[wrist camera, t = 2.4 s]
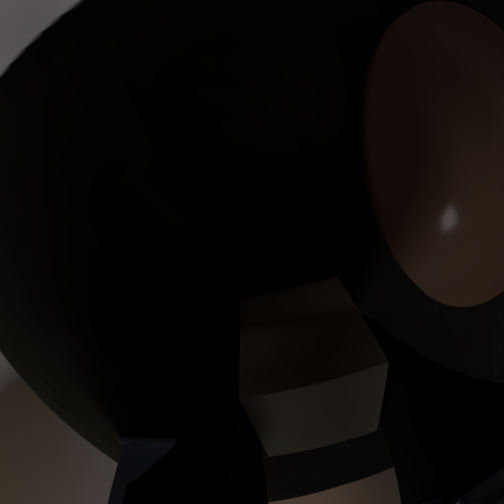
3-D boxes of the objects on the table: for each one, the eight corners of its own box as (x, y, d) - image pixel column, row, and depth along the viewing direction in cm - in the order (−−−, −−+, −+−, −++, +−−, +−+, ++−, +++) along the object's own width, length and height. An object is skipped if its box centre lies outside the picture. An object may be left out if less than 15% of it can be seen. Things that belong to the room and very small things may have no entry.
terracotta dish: (371, 331, 12) (380, 347, 11) (310, -9, 6) (317, -23, 5) (536, 257, 11) (547, 263, 10) (520, 41, 5) (532, 39, 4)
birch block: (262, 366, 12) (268, 456, 8) (240, 299, 11) (239, 398, 6) (342, 347, 12) (376, 430, 8) (337, 276, 11) (388, 361, 6)
